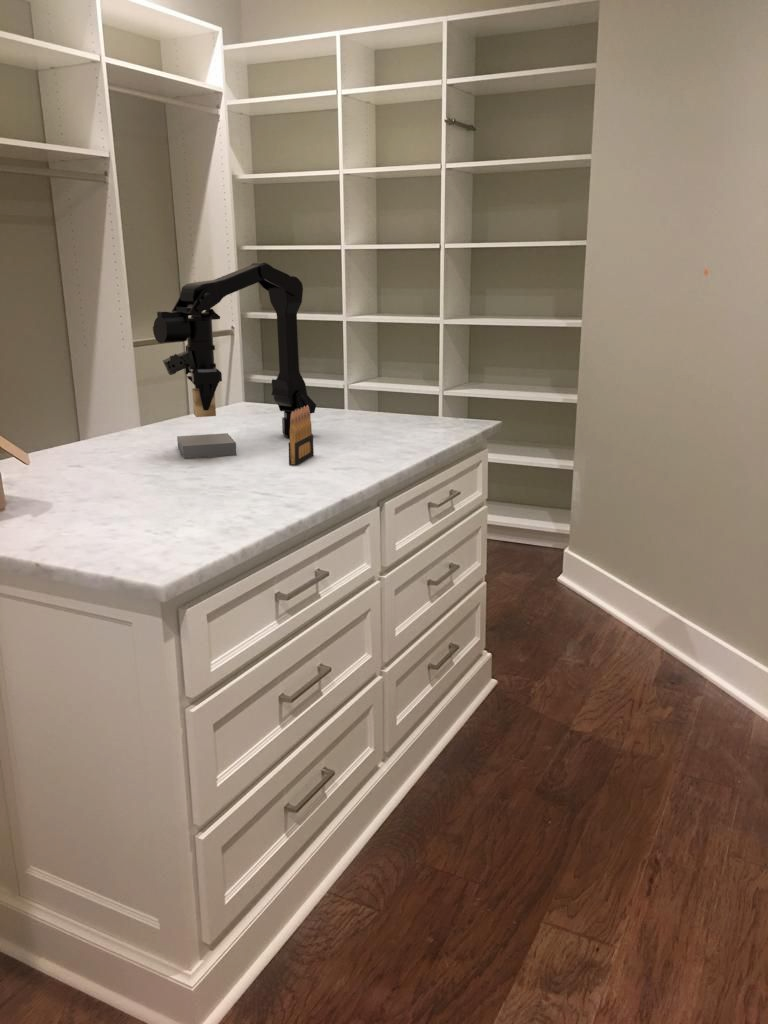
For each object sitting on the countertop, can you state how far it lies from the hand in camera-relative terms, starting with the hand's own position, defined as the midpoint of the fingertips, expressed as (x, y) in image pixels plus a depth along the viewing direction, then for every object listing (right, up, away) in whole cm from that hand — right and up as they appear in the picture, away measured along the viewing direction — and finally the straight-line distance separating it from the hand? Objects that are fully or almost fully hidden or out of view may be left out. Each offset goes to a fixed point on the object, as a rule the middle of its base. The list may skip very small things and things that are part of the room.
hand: (204, 408), depth 196 cm
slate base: (0, -10, +3) cm, 10 cm away
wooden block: (0, -1, 0) cm, 2 cm away
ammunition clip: (+23, -13, -5) cm, 27 cm away
